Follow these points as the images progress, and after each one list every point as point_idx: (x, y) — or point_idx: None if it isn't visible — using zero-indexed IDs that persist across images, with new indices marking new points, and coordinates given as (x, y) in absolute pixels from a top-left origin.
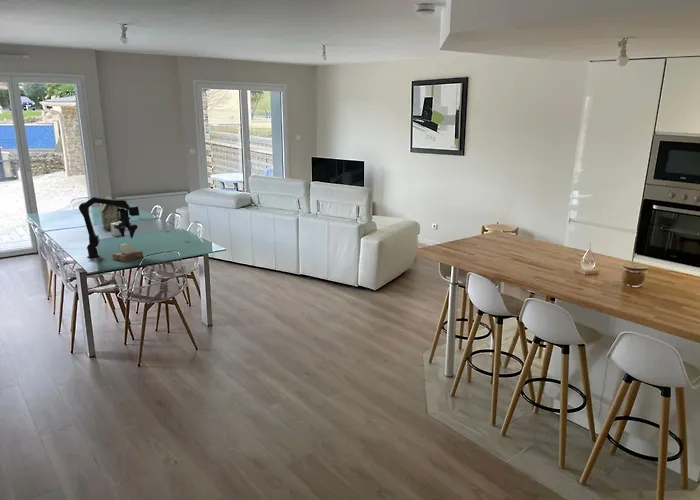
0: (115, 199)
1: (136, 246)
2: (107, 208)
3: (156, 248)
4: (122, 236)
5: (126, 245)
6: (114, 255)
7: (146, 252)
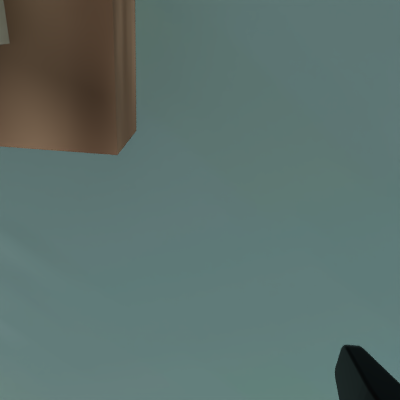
0: None
1: None
2: None
3: (86, 396)
4: (353, 357)
5: None
6: None
7: (35, 269)
